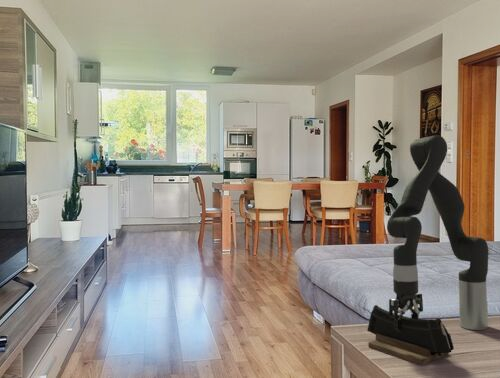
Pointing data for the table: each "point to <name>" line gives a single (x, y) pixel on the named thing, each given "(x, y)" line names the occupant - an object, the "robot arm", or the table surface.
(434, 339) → the magazine
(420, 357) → the stand
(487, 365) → the table surface
